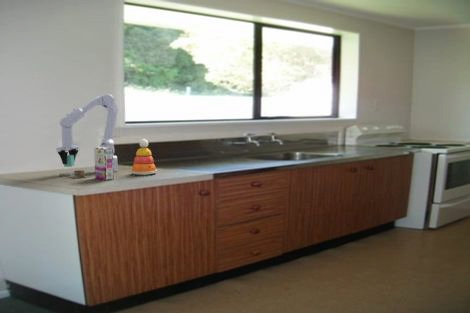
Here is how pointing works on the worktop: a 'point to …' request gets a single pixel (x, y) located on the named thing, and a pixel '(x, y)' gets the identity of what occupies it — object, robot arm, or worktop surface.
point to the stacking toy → (143, 160)
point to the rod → (72, 175)
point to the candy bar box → (104, 163)
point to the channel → (79, 174)
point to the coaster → (65, 174)
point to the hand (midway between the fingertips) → (68, 163)
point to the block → (69, 161)
